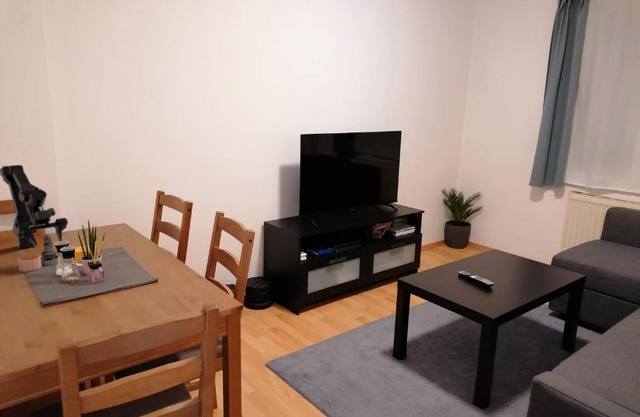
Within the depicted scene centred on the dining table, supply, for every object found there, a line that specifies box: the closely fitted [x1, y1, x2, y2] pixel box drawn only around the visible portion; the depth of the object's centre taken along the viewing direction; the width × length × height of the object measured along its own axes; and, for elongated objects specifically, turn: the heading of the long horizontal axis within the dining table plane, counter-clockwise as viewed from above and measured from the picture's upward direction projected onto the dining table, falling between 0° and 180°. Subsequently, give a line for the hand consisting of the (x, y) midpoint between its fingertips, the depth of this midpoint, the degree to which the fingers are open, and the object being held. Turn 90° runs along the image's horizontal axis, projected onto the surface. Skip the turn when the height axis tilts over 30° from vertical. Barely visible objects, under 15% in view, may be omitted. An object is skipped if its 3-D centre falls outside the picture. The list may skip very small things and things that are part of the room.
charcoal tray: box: [41, 254, 58, 266], centre depth 195 cm, size 8×8×2 cm
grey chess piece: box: [40, 233, 58, 261], centre depth 194 cm, size 6×6×12 cm
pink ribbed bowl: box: [17, 254, 43, 272], centre depth 187 cm, size 8×8×4 cm
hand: (49, 243), depth 192 cm, fingers open, 9 cm apart
